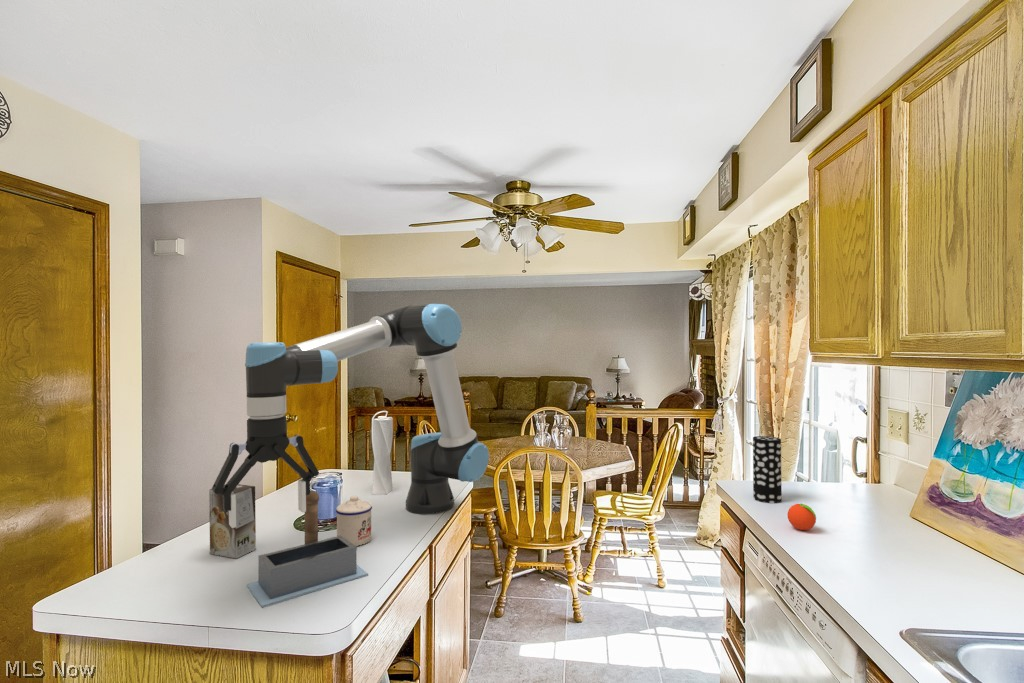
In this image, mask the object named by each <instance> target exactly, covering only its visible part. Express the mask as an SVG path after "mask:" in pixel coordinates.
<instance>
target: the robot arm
mask: <svg viewBox="0 0 1024 683" xmlns="http://www.w3.org/2000/svg"><path fill="white" fill-rule="evenodd" d="M462 329H463V327H462V321H461V318H460V316H459V314H458V313H457V311H456V310H455V309H454V308H452V307H451V306H450V305H448V304H445V303H434V302H433V303H426V304H425V303H424V304H416V305H405V306H401V307H397V308H395V309H392V310H389V311H387V312H385V313H382V314H379V315H376V316H375V315H374V316H372V317H371V318H370V319H369V321H367V322H364V323H361V324H358V325H355V326H352V327H348V328H343V329H342V330H338V331H336V332H335V331H334V332H331V333H328V334H325V335H322V336H318V337H315V338H313V339H309V340H306V341H302V342H299V343H295V344H293V345H289V346H286V344H285V343H284V342H282V341H281V342H279V341H278V342H272V341H271V342H251V343H249V344H248V345H247V346H246V350H245V363H244V366H245V380H246V415H247V417H249V418H247V420H246V441H245V443H235V442H231V443H230V444H229V448H228V449H229V451H228V455H227V457H226V459H225V461H224V462H223V464H222V467H221V469H220V471H219V473H218V475H217V477H216V479H215V481H214V483H213V485H212V487H211V489H212V490H213V492H214V493H215V494H222V495H223V509H224V510H225V511H229V525H230V526H231V527H232V528H235V527H236V494H235V493H233V490H234V489H235V488H236V486H237V485H238V484H241V483H240V482H241V481H242V480H243V479H244V477H245V476H246V475H247V474H248V473H249V471H250V470H251V469H252V467H254V466H255V465H256V463H258V462H259V463H261V464H262V463H267V462H269V461H270V462H271V461H272V462H275V461H277V460H279V459H282V460H283V461H284V462H285V463H286V464H287V465H288V466H289V467H290V468H291V469H292V470H293V471H294V472H295V473H297V474H298V476H300V479H298V480H297V501H298V504H297V505H298V506H297V507H298V510H299V511H300V512H301V513H305V512H306V495H309V494H310V491H311V481H312V479H313V478H314V477H318V475H319V474H320V472H319V470H318V468H317V467H316V464H315V463H314V460H312V457H311V455H310V454H309V452H308V450H307V449H306V447H305V444H304V438H303V436H301V435H299V434H294V435H293V436H291V437H288V426H287V424H288V422H287V419H288V418H287V416H286V415H285V414H287V387H291V386H298V385H299V386H300V385H312V384H320V385H321V384H324V383H330V382H332V381H333V380H334V379H336V377H337V374H338V371H339V362H340V361H344V360H346V359H349V358H352V357H355V356H357V355H360V354H363V353H366V352H369V351H372V350H374V349H377V348H379V349H381V350H383V349H384V350H385V349H388V348H390V347H397V346H411V347H412V346H414V348H415V352H416V356H417V357H419V358H420V359H422V360H423V361H424V366H425V369H426V370H425V372H426V375H427V379H428V384H429V387H430V388H429V389H430V391H431V396H432V400H433V405H434V408H435V413H436V417H437V421H438V425H439V429H440V432H429V433H423V434H418V435H415V436H413V437H412V439H411V442H410V443H411V444H410V481H411V482H410V486H409V489H408V492H407V496H406V499H405V509H406V510H407V511H408V512H410V513H413V514H419V515H420V514H422V515H431V514H440V513H443V512H447V511H449V510H452V509H453V508H454V507H455V498H454V494H453V492H452V488H451V486H450V482H449V479H451V480H458V481H460V482H468V483H474V482H476V481H478V480H479V479H480V478H482V476H483V475H484V474H485V472H486V471H487V467H488V465H489V461H490V452H489V449H488V446H487V445H485V444H484V443H483V442H480V441H479V439H478V435H477V432H476V430H474V429H473V428H471V427H470V424H469V418H468V414H467V409H466V405H465V400H464V396H463V391H462V387H461V381H460V377H459V373H458V368H457V364H456V359H455V355H454V354H455V351H456V350H457V348H458V344H457V343H458V342H459V340H460V339H461V333H462ZM290 444H291V446H293V447H295V450H296V451H297V453H298V455H299V456H300V458H301V460H302V462H303V464H304V465H305V466H306V469H307V470H308V471H306V470H305V469H304V468H303V467H302V466H301V465H300V464H299V463H298V462H297V461H295V460H294V459H293V457H291V456H290V454H288V453H287V451H286V450H287V448H288V446H289V445H290ZM243 451H246V452H247V453H248V455H247V456H246V457H245V458H244V461H243V463H241V465H240V466H239V467H238V469H237V470H236V471H235V472H234V474H232V476H231V478H230V479H229V480H228V478H229V476H230V474H231V472H232V470H233V468H234V466H235V464H236V462H237V461H238V458H239V457H238V456H239V455H242V453H243ZM227 480H228V481H227ZM225 484H226V485H225ZM224 485H225V486H224ZM223 486H224V487H223Z"/></svg>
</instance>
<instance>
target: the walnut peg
mask: <svg viewBox="0 0 1024 683" xmlns="http://www.w3.org/2000/svg"><path fill="white" fill-rule="evenodd" d="M319 500H320V495H319V493H318V492H317V491H316V490H312V489H310V494H309V495H306V512H304V544H308V543H312V542H316V541H319Z"/></svg>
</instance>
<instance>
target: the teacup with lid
mask: <svg viewBox="0 0 1024 683" xmlns="http://www.w3.org/2000/svg"><path fill="white" fill-rule="evenodd" d="M372 509H373V506H372V503H370V502H369V501H365V500H362V499H361V498H360V499H359V496H358V495H352V496H350V498H349V500H347V501H345V502H343V503H340V504H339V505H338V506H337V507H336V510H335V513H336V537H337V536H342V537H344V538H345V539H346V540H348V541H349V542H350V543H352V544H353V545H355V546H356V547H359V546H358V545H360V546H363V545H362V544H364V545H366V544H368V543H370V541H371V540H372ZM367 542H368V543H367ZM365 543H366V544H365Z"/></svg>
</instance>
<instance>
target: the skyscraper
mask: <svg viewBox="0 0 1024 683" xmlns="http://www.w3.org/2000/svg"><path fill="white" fill-rule="evenodd" d="M382 413H385V415H380V416H377V415H378V414H382ZM388 413H389V411H387V410H380V411H377V412H376V413H375V414H374V415H373V416H372V418H371V446H372V452H373V458H374V463H373V476H372V492H371V493H372V495H381V494H386V495H385V496H387V495H388V494H389V493H391V492H392V491H393V477H392V476H393V474H392V465H391V458H390V457H391V451H392V447H393V439H394V438H393V437H394V419H393V417H392V416H388ZM376 416H377V418H375V417H376ZM387 416H388V417H387ZM390 491H391V492H390Z"/></svg>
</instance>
